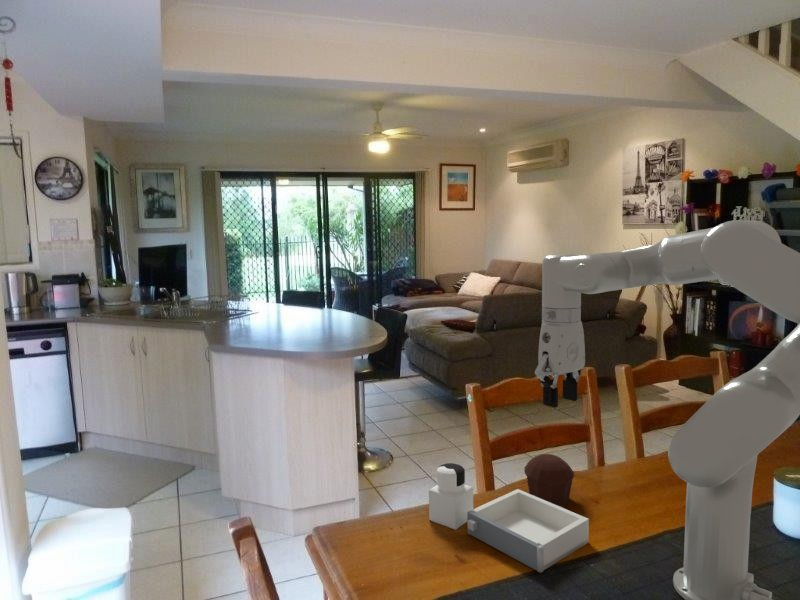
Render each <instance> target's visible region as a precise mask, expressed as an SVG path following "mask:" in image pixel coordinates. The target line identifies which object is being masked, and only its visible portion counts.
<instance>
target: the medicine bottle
mask: <svg viewBox="0 0 800 600" xmlns="http://www.w3.org/2000/svg"><path fill="white" fill-rule="evenodd" d="M465 471H466V470H465V468H464V467H463V466H462V465H460V464H458V463H454V462H453V463H452V462H450V463H443V464H440V465H439V466H438V467H437V469H436V485H434V486H433V487H432V488H430V489H429V490H428V512H429V513H428V515H429V516H428V519H429V521H430V520H431V522H434V523H436V524H439V525H442V526H443V527H444V526H445V527H447V528H450V529H451V530H455V531H456V530H458V529H459V528H460V527H462V526H464V525H465V524H466V523H468V520H467V512H468V511H472V510H473V509H474V487H473V486H472V485H467V484H466V477H465V476H466V473H465Z"/></svg>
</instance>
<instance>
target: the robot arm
mask: <svg viewBox="0 0 800 600" xmlns="http://www.w3.org/2000/svg"><path fill="white" fill-rule="evenodd" d="M541 265H542V266H541V268H542V271H541V273H542V274H541V279H542V281H541V290H542V291H541V327H540V333H539V342H538V355H537V356H538V357H537V358H538V362H537V363H538V364H537V366H536V368H535V370H534V374H535V376H536V377H537V378H538V380H539V381H540V386H541V387H542V404H543V405H544V406H547V407H549V408H558V406H559V388H558V387H557V385H558V384H557V383H558V379H559V376H560V375H561V376H562V375H564V379H562V398H563V399H564V400H569V401H572V402H576V401H578V382H579V380H580V374H581V372H582V369H583V368H584V367H585V364H586V350H585V349H586V345H585V332H584V327H583V322H582V320H581V318H582V317H581V316H582V315H581V314H582V313H581V312H582V311H581V310H582V308H581V307H582V294H585V295H596V294H601V293H606V292H612V291H613V292H614V291H619V290H625V289H632V288H633V289H634V288H639V287H647V286H652V285H654V286H655V285H669V286H679V285H686V284H687V285H688V284H692V283H698V282H699V283H701V282H709V281H714V280H715V281H716V280H723V281H724V282H726V283H727V284H728V285H730V286H731V287H733V288H735V290H737V291H739V292H741V293H743V294H744V295H746V296H747V297H749V298H750V299H752V300H754V301H755V302H757V303H759V304H761V305H762V306H763V307H766V308H767V309H769V310H770V311H772V312H773V313H775V314H777V315H779V316H780V317H782V318H784V319H786V320H788V321H791V322H794V323H796V324H797V326H795V328H794V329H793V330H792V331H791V332H790V333H788V335H787V336H786V337H784V338H783V339H782V340H781V341H780V342H779V343H778V344H777V346H775V348H774V349H773V350H772V351H770V353H769V354H767V355H766V357H764V358H763V359H762V360H761V361H760V362H759V363H758V364H756V366H754V367H753V368H752V369H750V370H748V371H747V372H744V373H742V374H741V375H739V376H736V377H735V378H733V379H731V380H729V382H727V383H725V384H724V385H723V386H721V388H719V389H718V390H717V391H716V392H714V394H713V395H711V397H710V398H709V399H708V400H707V401H705V403H704V404H703V405H702V406H700V408H698V410H697V411H695V412H694V414H693V415H692V416H690V418H688V420H687V421H685V423H684V424H682V426H680V428H679V429H678V430H677V431H676V432H675V433H674V434H673V435H672V437H671V439H670V441H669V444H668V447H667V449H668V450H667V456H668V461H669V464H670V467H671V469H672V470H673V472H674V474H676V475H677V476H678V478H679V479H681V480H682V481H683V482H685V483H686V495H685V496H686V498H685V520H684V547H683V549H684V551H683V567H680V568H678V569H677V570H676V571H675V572H674V573H673V578H672V582H673V587H674V590H675V591H676V592H677V593H678V594H679V595H680V597H682V598H683V599H684V600H774V599H772V598H773V592H772V591H770V590H767V589H765V588H761V587H760V586H757V584H756V583H754V577H755V574H753V573H751V572H749V571H748V569H749V551H750V549H749V548H750V532H751V513H752V502H753V501H752V500H753V490H754V489H753V488H754V479H755V474H756V468H757V462H758V455H759V454H760V453H761V452H763V450H764V449H766V448H767V447H768V446H769V445H771V444H772V443H773V442H774V441H775V440H776V439H778V438H779V436H781V435H782V434H783V433H785V431H787V429H788V428H790V427H791V425H793V424H794V423H795V421H797V419H798V418H799V417H800V252H798V250H795V249H793V248H791V247H789V246H787V245H785V244H784V243H782V240H781V237H780V235H779V233H778V231H777V230H776V229H775V228H774V227H773V226H772V225H770V224H769V223H766V222H764V221H759V220H756V219H755V220H752V219H751V220H748V219H747V220H746V219H743V220H741V219H738V220H737V219H736V220H735V219H734V220H728V221H725V222H723V223H722V222H721V223H720V224H718V225H716V226H714V227H710V228H705V229H700V230H694V231H690V232H684V233H677V234H673V235H672V234H671V235H667V236H665V237H663V238H662V239H660V240H659V241H658V242H656V243H653V244H650V245H645V246H641V247H635V248H631V249H625V250H620V251H613V252H601V253H600V252H599V253H589V254H580V255H576V254H569V253H566V254H565V253H563V254H562V253H560V254H559V253H558V254H556V253H555V254H547V255H546V256H545V257H543V260H542V264H541ZM550 376H552V377H551V378H550Z"/></svg>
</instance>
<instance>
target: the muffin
mask: <svg viewBox="0 0 800 600" xmlns="http://www.w3.org/2000/svg"><path fill="white" fill-rule="evenodd" d="M523 470H524V474H525V476H526V480H527V486H528V492H529V494H531V495H533V496H536V497H538V498H540V499H543V500H545V501H548V502H550V503H552V504H555V505H557V506H559V507H564V506H565V504H568V503H569V500H570V495H571V489H572V485H573V479H574V477H575V472H574V470H573V469H572V467H571V466H570V465H569V464H568V463H567V462H566V461H565V460H564V459H562V457H560V456H557V455H555V454H551V453H542V454H537V455H535V456H534V457H533V458H531V459H530V460H529V461H528V462H527V463H526V465H525V466H524V469H523Z"/></svg>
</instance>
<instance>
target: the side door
mask: <svg viewBox="0 0 800 600" xmlns="http://www.w3.org/2000/svg"><path fill="white" fill-rule="evenodd" d="M467 520H468V521H467V534H468V535H471V536H472V537H474V538H476V539H477V540H479V541H482V542H483V543H485V544H487V545H489V546H490V547H492V548H495V549H496V550H497V551H499V552H502V553H504V555H505V554H506V555H507V556H509V557H511V558H513V559H515V560H516V561H518V562H520V563H522V564H523V565H526V566H527V567H528V568H531V569H533V570H535V571H536V572H538V573H544V571H545V570H544V547H543V546H542V545H539V544H537V543H535V542H533V541H531V540H529V539H527V538H525V537H523V536H521V535H519V534H517V533H515V532H513V531H511V530H509V529H507V528H505V527H503V526H501V525H499V524H497V523H495V522H493V521H491V520H489V519H487V518H485V517H483V516H481V515H479V514H477V513H475V512H473V511H468V512H467Z"/></svg>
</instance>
